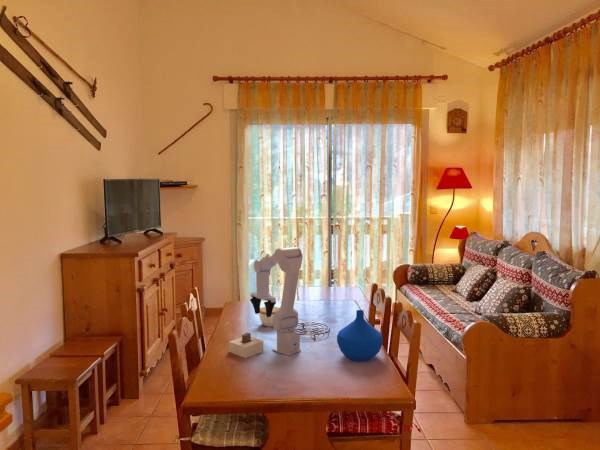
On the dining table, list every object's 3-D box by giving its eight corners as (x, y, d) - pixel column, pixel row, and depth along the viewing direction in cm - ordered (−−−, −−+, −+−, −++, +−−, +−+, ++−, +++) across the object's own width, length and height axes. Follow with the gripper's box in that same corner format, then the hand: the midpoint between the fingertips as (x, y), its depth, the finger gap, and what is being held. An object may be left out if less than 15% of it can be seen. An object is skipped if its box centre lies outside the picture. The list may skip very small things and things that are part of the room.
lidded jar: (255, 326, 231) (254, 307, 230) (266, 320, 241) (266, 302, 240) (273, 329, 226) (273, 310, 226) (284, 323, 236) (284, 304, 235)
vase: (344, 367, 181) (344, 319, 179) (331, 350, 199) (331, 306, 197) (389, 364, 184) (390, 316, 182) (373, 347, 202) (373, 303, 200)
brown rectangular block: (250, 349, 199) (250, 333, 198) (246, 352, 195) (246, 335, 195) (246, 348, 199) (246, 332, 199) (242, 351, 196) (242, 335, 196)
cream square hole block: (263, 351, 198) (263, 340, 197) (245, 358, 190) (245, 347, 190) (247, 345, 204) (247, 335, 204) (229, 352, 197) (229, 341, 197)
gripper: (280, 286, 212) (280, 316, 214) (258, 281, 222) (258, 310, 223) (269, 289, 207) (269, 319, 209) (247, 284, 217) (247, 313, 218)
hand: (263, 315), depth 216 cm, fingers open, 7 cm apart
